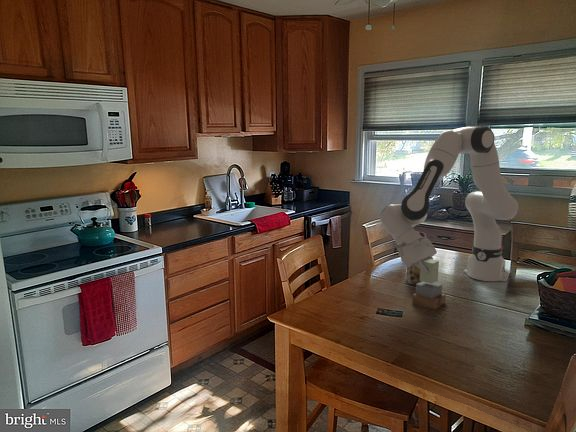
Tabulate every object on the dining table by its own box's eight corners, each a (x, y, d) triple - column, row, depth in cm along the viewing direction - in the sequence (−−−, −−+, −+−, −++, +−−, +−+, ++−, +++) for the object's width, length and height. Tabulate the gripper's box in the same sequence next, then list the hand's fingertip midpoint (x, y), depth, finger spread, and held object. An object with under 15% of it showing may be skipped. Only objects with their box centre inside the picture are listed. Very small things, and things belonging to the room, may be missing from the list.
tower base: (423, 297, 166) (424, 288, 165) (445, 304, 159) (445, 294, 159) (412, 304, 160) (412, 294, 159) (434, 311, 153) (434, 301, 153)
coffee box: (408, 284, 180) (410, 249, 177) (406, 279, 186) (407, 245, 183) (430, 284, 179) (432, 249, 176) (426, 279, 185) (428, 245, 182)
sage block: (425, 277, 162) (426, 258, 160) (437, 280, 158) (439, 260, 156) (419, 280, 158) (420, 260, 157) (431, 283, 155) (433, 263, 153)
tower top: (425, 289, 164) (425, 279, 164) (441, 294, 159) (442, 284, 158) (415, 293, 160) (416, 284, 159) (431, 298, 155) (432, 288, 154)
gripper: (400, 241, 152) (423, 272, 148) (426, 232, 167) (448, 259, 162) (389, 250, 156) (411, 281, 152) (415, 240, 171) (436, 268, 166)
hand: (430, 270), depth 157 cm, fingers closed on sage block, 5 cm apart
